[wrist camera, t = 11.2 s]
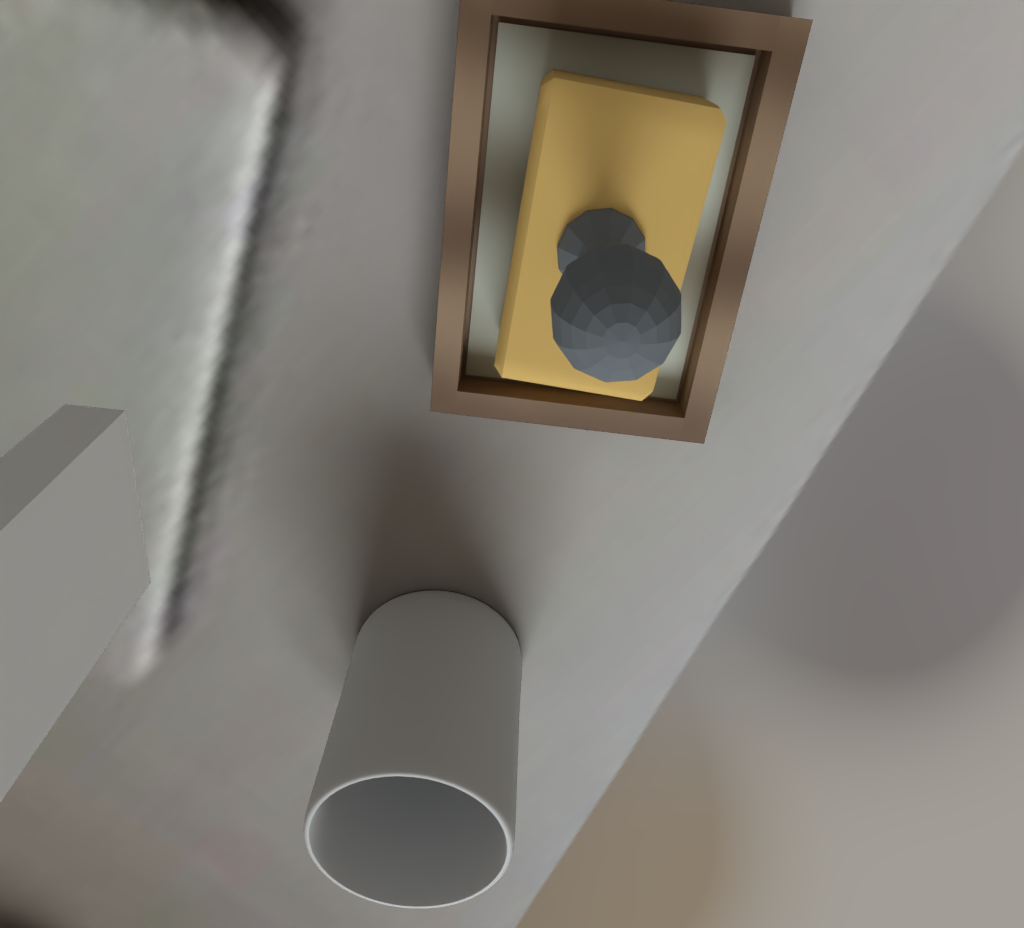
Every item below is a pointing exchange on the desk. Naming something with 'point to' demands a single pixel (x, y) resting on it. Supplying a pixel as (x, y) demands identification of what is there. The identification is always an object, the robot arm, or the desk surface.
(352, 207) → the desk surface
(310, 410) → the desk surface
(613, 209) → the rubber stamp
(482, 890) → the mug
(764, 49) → the tray
